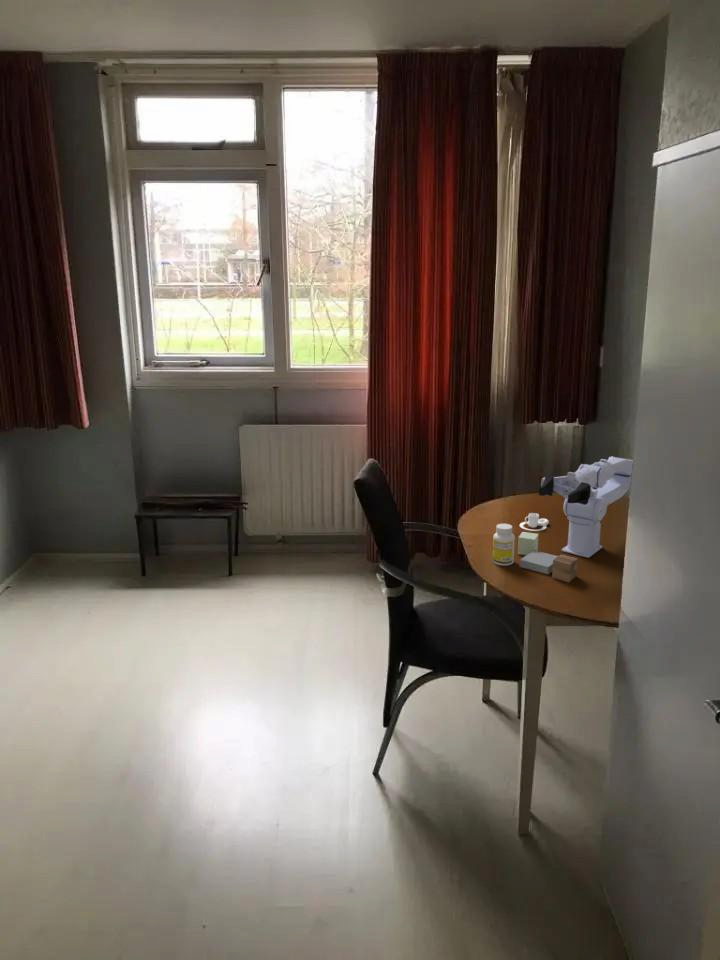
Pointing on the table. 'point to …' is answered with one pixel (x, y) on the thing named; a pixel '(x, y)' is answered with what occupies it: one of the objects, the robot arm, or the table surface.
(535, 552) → the slate slab
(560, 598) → the table surface
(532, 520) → the teacup and saucer
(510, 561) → the supplement bottle
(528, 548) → the sage block
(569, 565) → the walnut block
